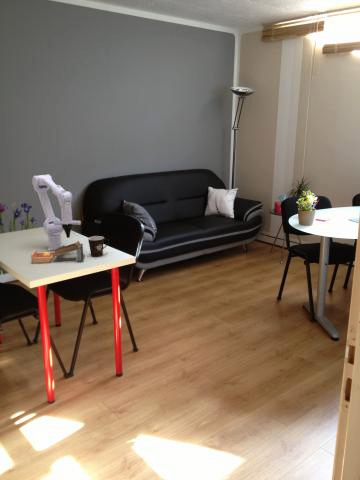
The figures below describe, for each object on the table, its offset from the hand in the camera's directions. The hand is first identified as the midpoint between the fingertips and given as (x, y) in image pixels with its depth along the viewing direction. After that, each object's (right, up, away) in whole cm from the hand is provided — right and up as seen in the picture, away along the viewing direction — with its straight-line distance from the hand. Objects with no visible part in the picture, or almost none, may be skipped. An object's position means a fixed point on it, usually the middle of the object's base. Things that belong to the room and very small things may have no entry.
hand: (68, 237), depth 247 cm
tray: (-12, -13, -8) cm, 19 cm away
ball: (-10, -10, -9) cm, 16 cm away
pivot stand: (+8, -12, -6) cm, 16 cm away
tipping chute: (+1, -7, -5) cm, 8 cm away
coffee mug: (+17, -10, +1) cm, 20 cm away
